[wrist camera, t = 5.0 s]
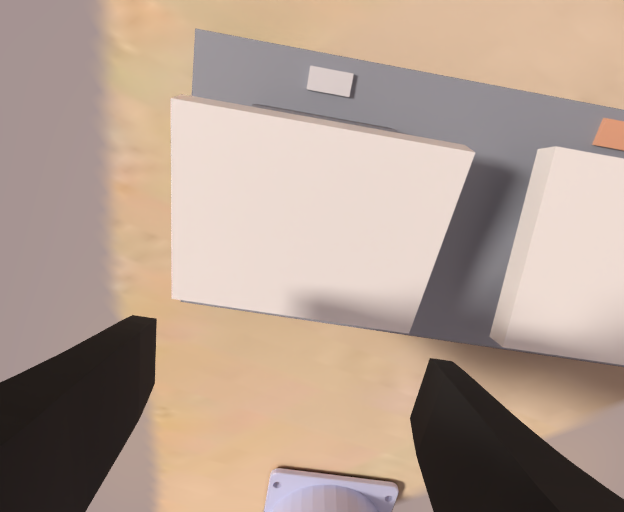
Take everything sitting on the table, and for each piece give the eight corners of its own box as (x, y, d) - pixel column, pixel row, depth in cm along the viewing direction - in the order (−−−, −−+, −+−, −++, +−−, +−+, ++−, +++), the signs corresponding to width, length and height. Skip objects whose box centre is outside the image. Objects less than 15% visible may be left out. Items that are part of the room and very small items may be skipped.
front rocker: (400, 304, 17) (409, 333, 15) (187, 272, 16) (171, 298, 14) (456, 138, 13) (475, 152, 12) (190, 91, 13) (170, 98, 11)
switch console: (605, 344, 21) (664, 393, 18) (193, 282, 20) (167, 321, 16) (715, 133, 17) (819, 140, 14) (209, 37, 16) (179, 18, 12)
